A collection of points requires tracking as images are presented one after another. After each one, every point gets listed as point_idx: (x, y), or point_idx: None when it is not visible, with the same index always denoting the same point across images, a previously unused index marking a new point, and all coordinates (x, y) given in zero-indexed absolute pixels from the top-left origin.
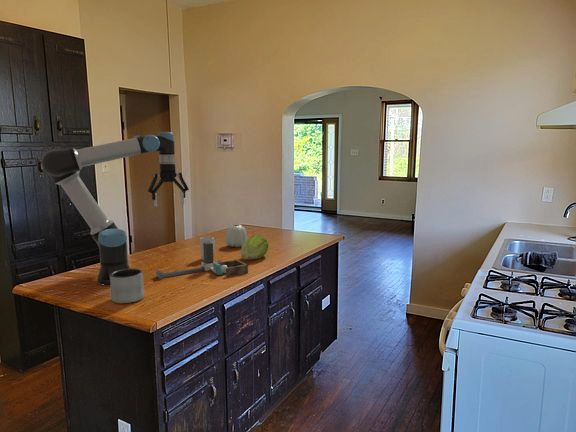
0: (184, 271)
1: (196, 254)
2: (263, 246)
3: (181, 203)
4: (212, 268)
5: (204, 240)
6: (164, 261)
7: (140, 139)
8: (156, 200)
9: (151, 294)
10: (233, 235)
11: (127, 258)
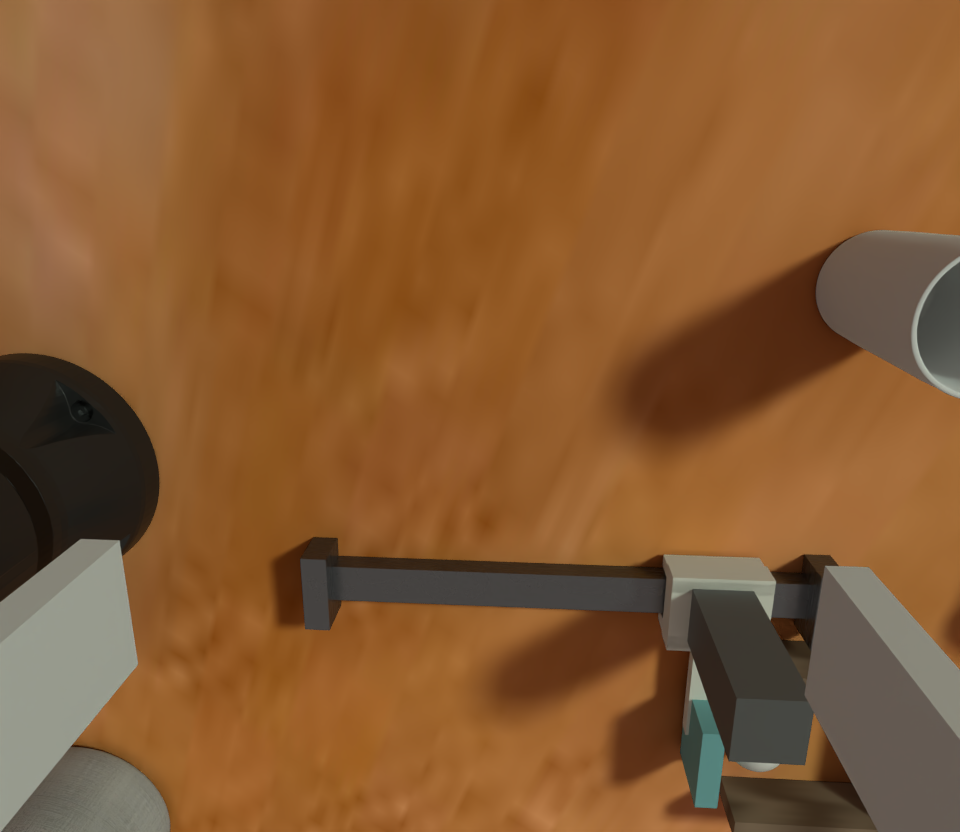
0: (502, 605)
1: (891, 29)
2: None
3: (827, 635)
4: (695, 682)
5: (920, 377)
6: (500, 125)
7: None
8: (16, 782)
9: (215, 811)
10: None
11: (33, 574)
